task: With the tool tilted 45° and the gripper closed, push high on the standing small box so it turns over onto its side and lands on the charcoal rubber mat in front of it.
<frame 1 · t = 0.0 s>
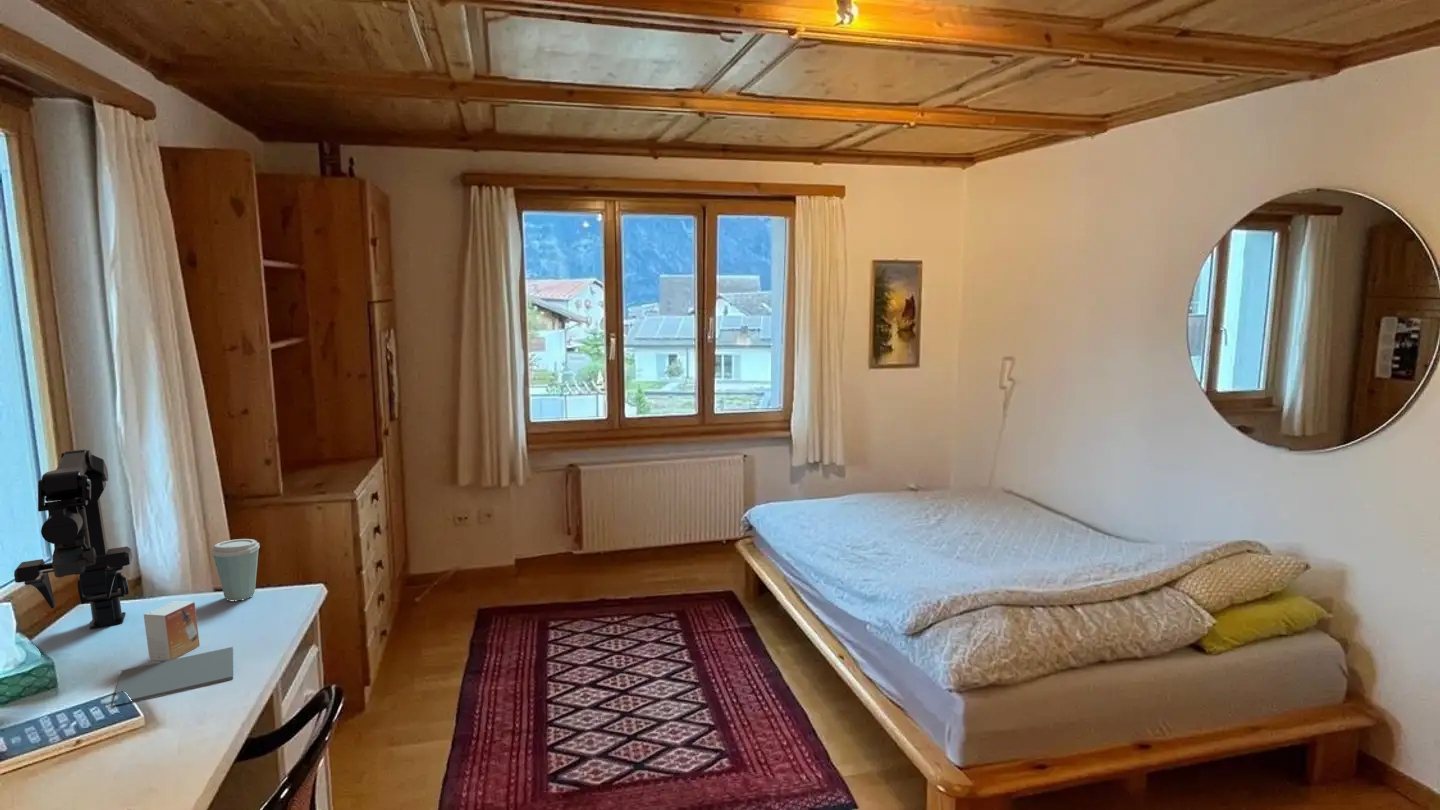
hand: (81, 603, 170), 15 cm above the table, tool pointing down, fingers open, 9 cm apart
disposable coffee cup: (241, 597, 210), on the table
charcoal mat: (177, 675, 168), on the table
small box: (175, 653, 179), on the table
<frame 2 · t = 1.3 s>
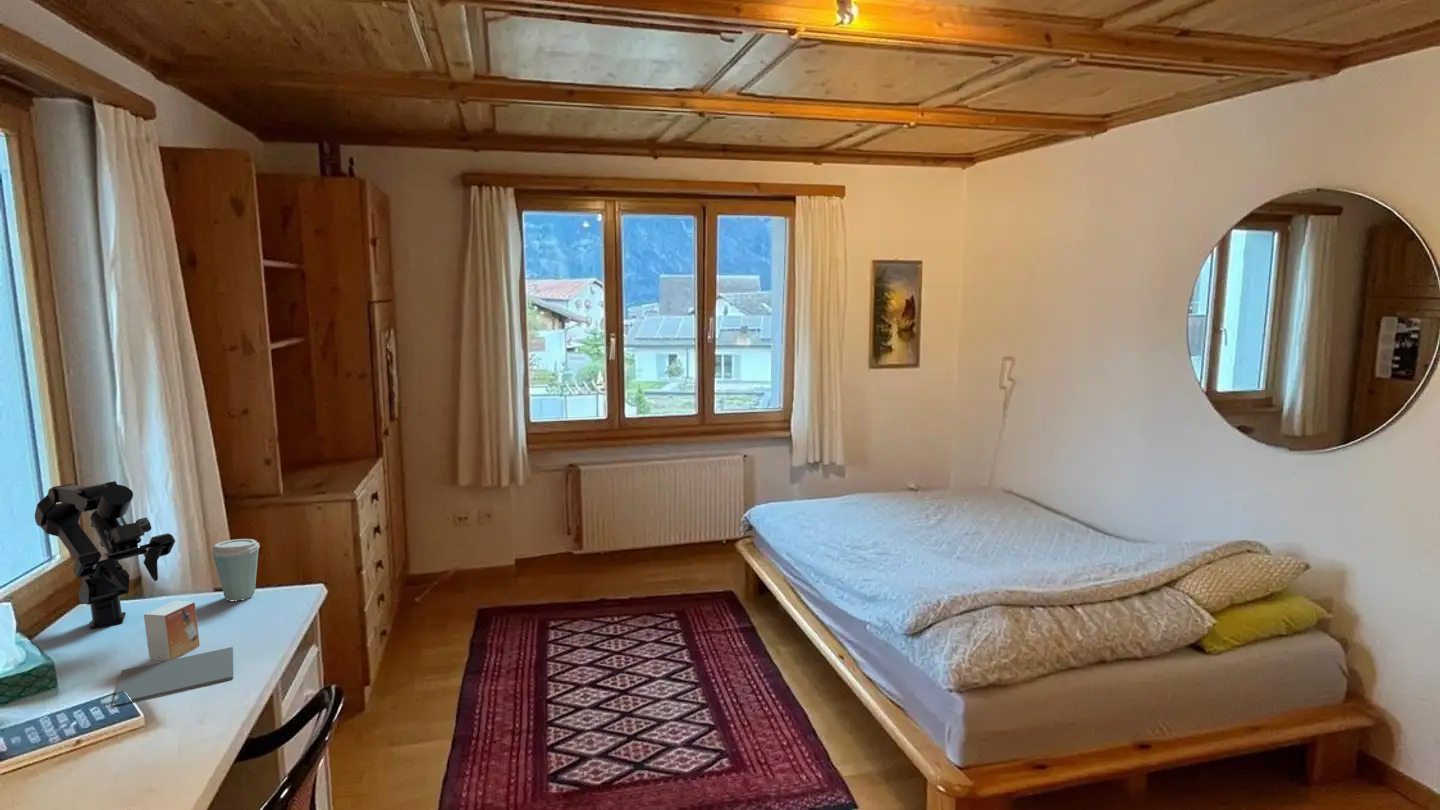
hand: (141, 584, 183), 14 cm above the table, tool tilted 45°, fingers open, 6 cm apart
nothing on the table moved.
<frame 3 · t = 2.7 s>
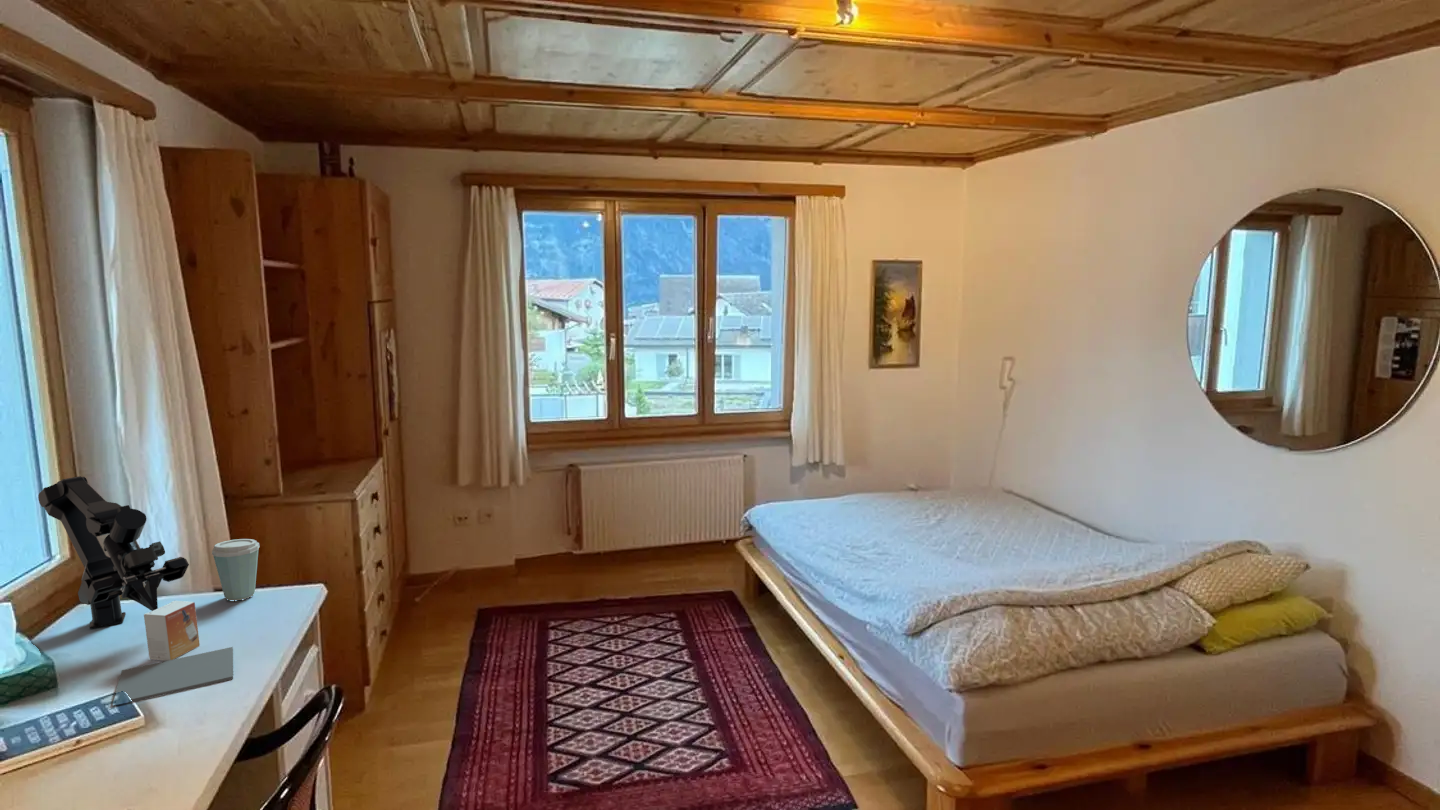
hand: (155, 609, 181), 9 cm above the table, tool tilted 45°, fingers closed
nothing on the table moved.
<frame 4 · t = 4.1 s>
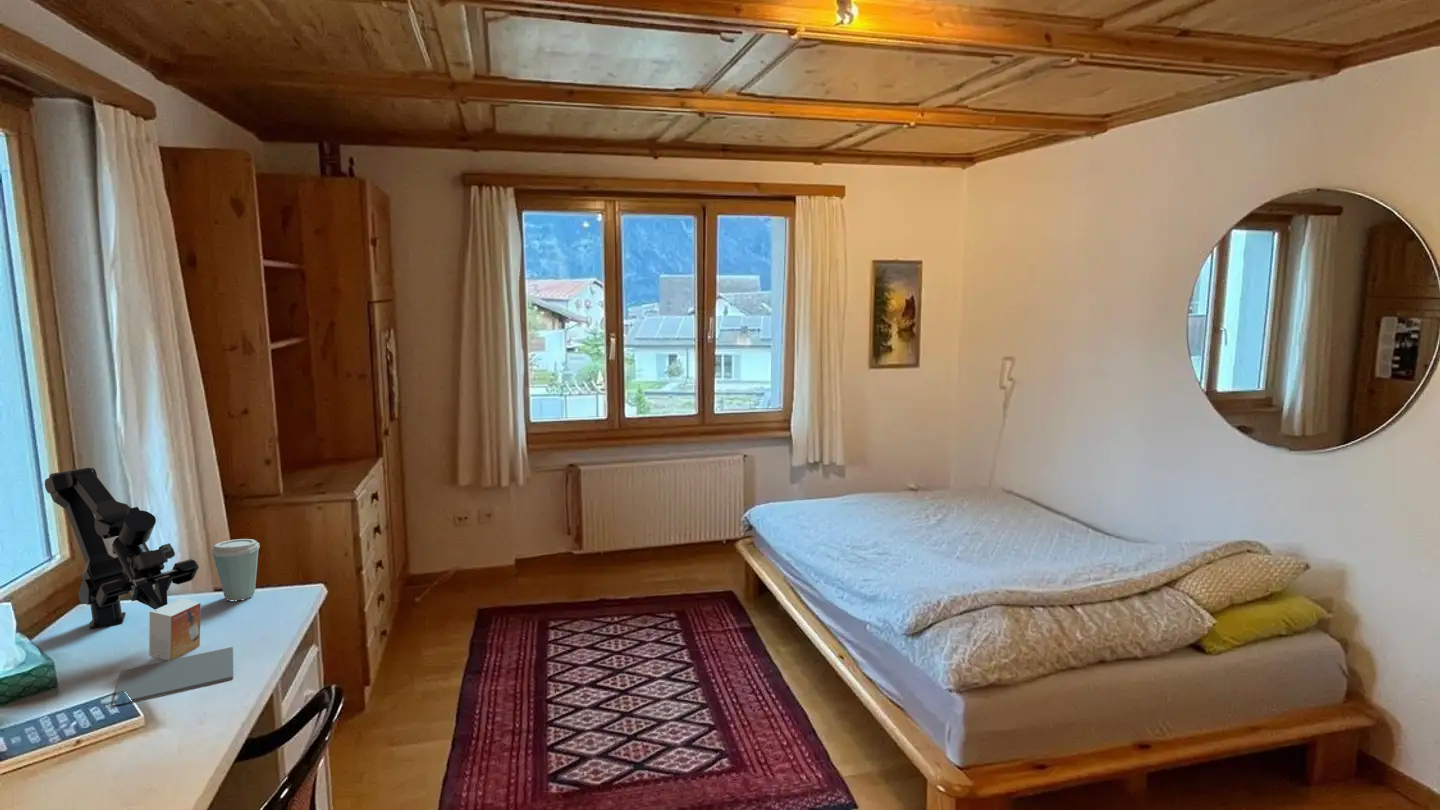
hand: (165, 612, 178), 9 cm above the table, tool tilted 45°, fingers closed
small box: (175, 651, 179), on the table, touching gripper
everything else where it was.
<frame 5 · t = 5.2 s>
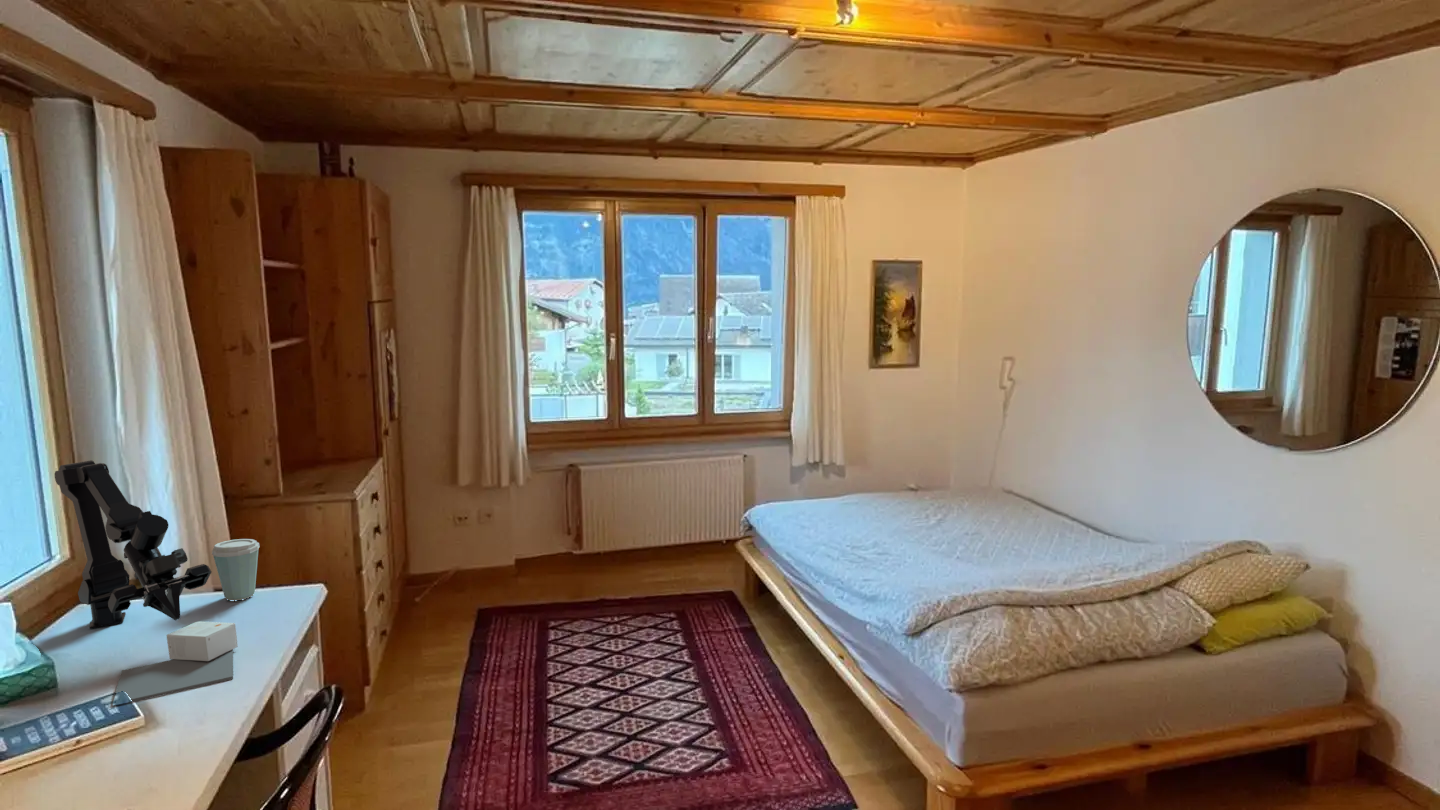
hand: (178, 618, 175), 9 cm above the table, tool tilted 45°, fingers closed
small box: (182, 639, 178), point 3 cm above the table, touching charcoal mat
everything else where it was.
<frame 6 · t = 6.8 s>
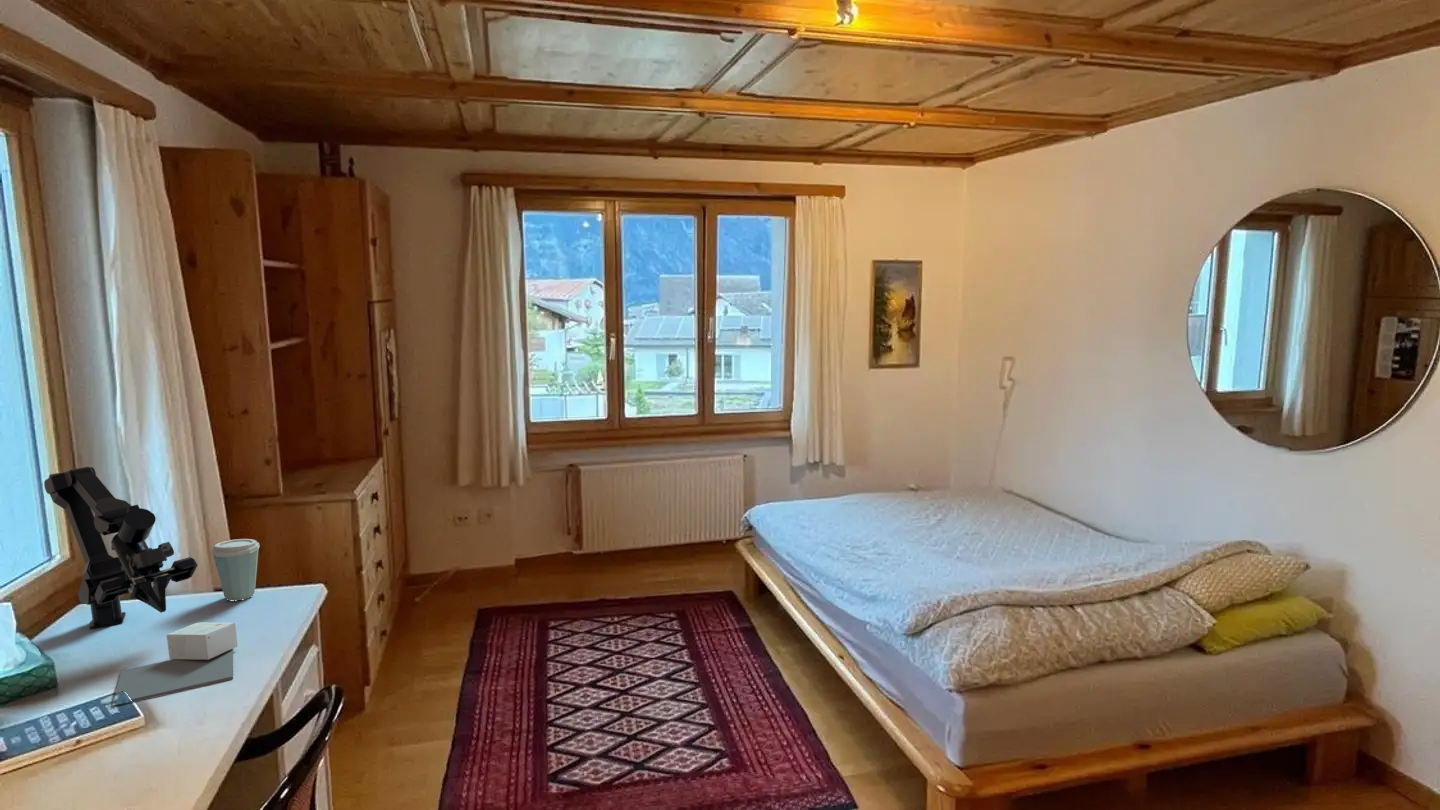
hand: (163, 611, 179), 9 cm above the table, tool tilted 45°, fingers closed
small box: (182, 640, 178), point 3 cm above the table, touching charcoal mat
everything else where it was.
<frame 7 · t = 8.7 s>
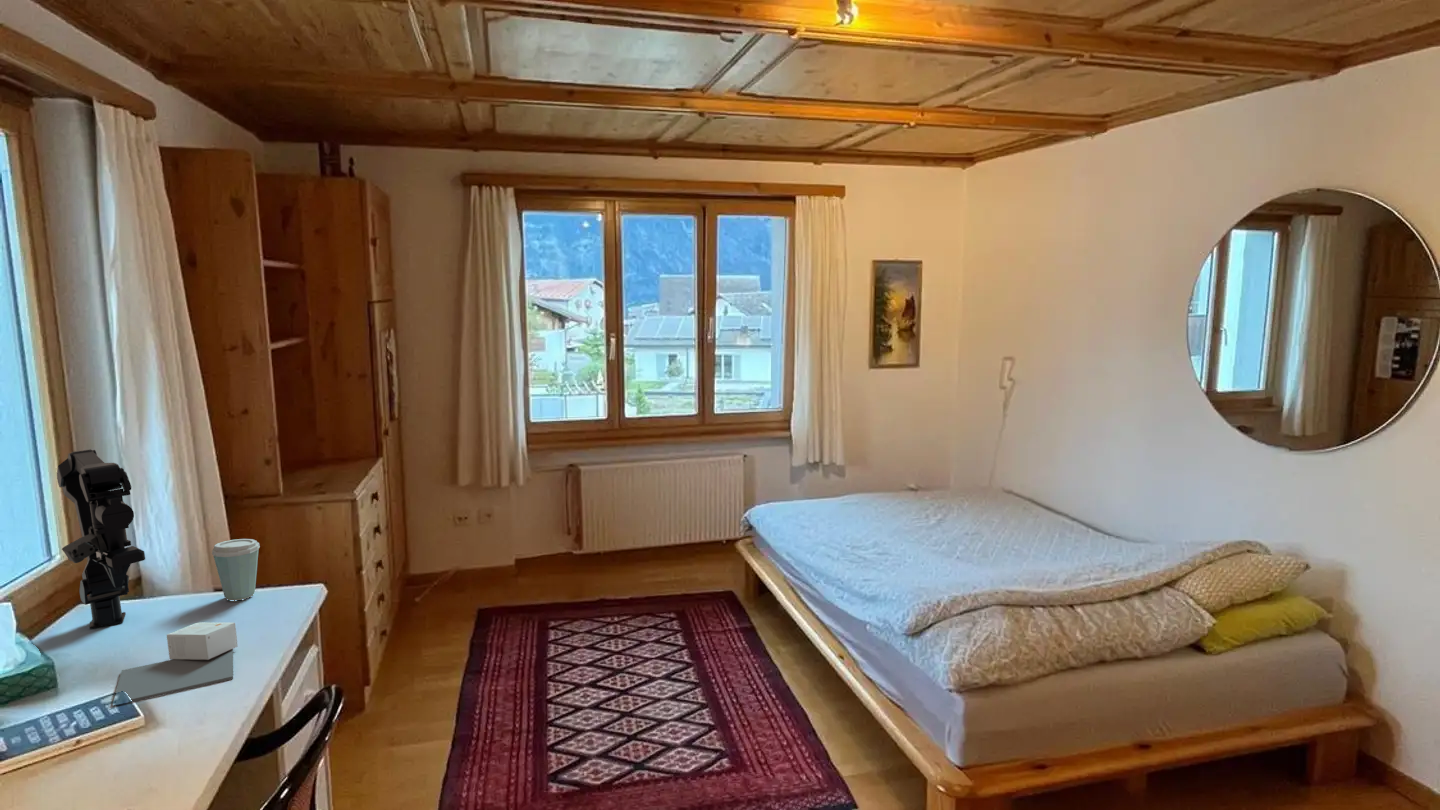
hand: (117, 587, 183), 13 cm above the table, tool pointing down, fingers closed
nothing on the table moved.
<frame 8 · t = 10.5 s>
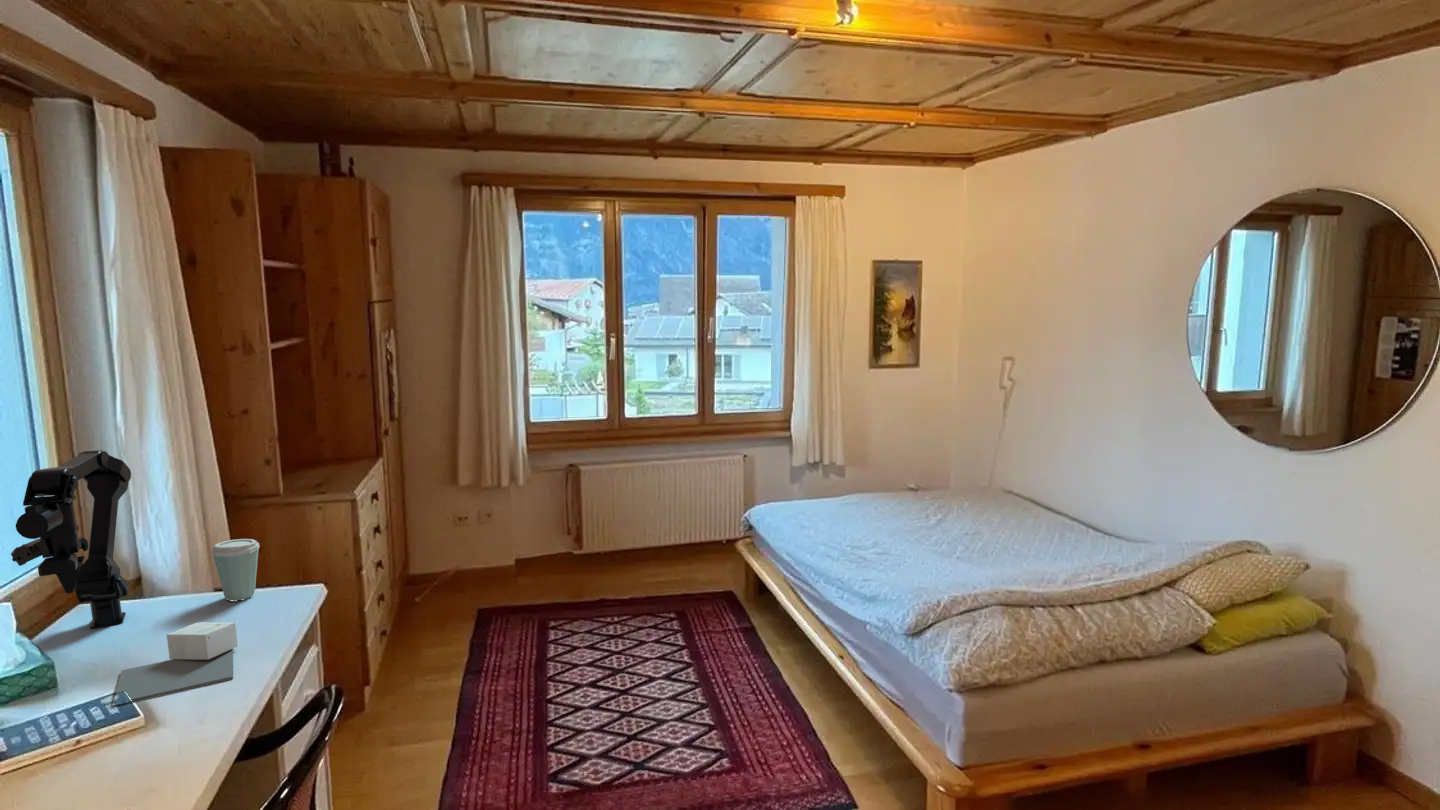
hand: (69, 592, 180), 13 cm above the table, tool pointing down, fingers closed
nothing on the table moved.
at the end: small box tilted 86°; small box touching charcoal mat, table; the gripper is holding nothing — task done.
